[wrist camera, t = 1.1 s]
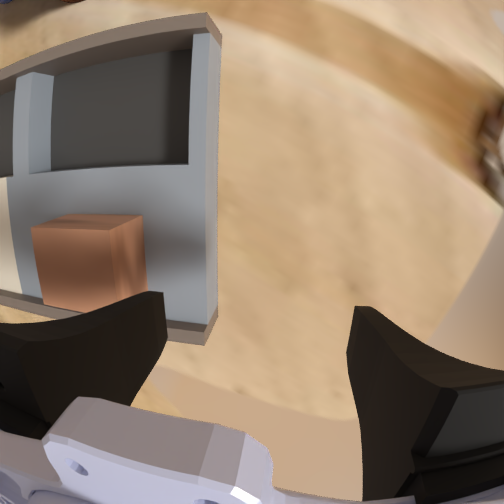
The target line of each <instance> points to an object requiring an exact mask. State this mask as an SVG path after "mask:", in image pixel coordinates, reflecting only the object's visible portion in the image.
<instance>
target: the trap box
mask: <svg viewBox="0 0 504 504" xmlns="http://www.w3.org/2000/svg"><path fill="white" fill-rule="evenodd" d="M221 44H222V34H221V33H220V31H219V30H218V28H217V27H216V25H215V24H214V22H213V21H212V19H211V18H210V16H209V15H208V13H207V12H206V13H197V14H188V15H181V16H174V17H168V18H162V19H156V20H150V21H145V22H140V23H135V24H131V25H126V26H122V27H118V28H114V29H110V30H106V31H102V32H99V33H95V34H92V35H88V36H85V37H82V38H79V39H76V40H72V41H69V42H66V43H64V44H61V45H58V46H55V47H52V48H50V49H47V50H44V51H42V52H39V53H37V54H34V55H32V56H29V57H27V58H25V59H22V60H20V61H18V62H16V63H13V64H11V65H9V66H7V67H5V68H3V69H1V70H0V304H1V305H4V306H8V307H11V308H15V309H18V310H22V311H26V312H30V313H33V314H37V315H41V316H45V317H49V318H53V319H64V318H68V317H72V316H76V315H80V314H84V312H79V311H74V310H69V309H64V308H59V307H54V306H50V305H45V304H44V302H43V297H42V293H41V288H40V283H39V278H38V273H37V267H36V261H35V255H34V249H33V242H32V234H31V227H33V226H36V225H39V224H41V223H44V222H47V221H50V220H53V219H55V218H58V217H61V216H64V215H67V214H116V215H143V231H144V247H145V260H146V273H147V283H148V291H157V292H163V293H164V304H165V314H166V324H167V333H168V339H167V341H174V342H181V343H188V344H195V345H203V346H205V344H206V341H207V339H208V337H209V335H210V333H211V331H212V328H213V326H214V324H215V322H216V320H217V318H218V288H217V171H218V123H219V91H220V66H221Z"/></svg>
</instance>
